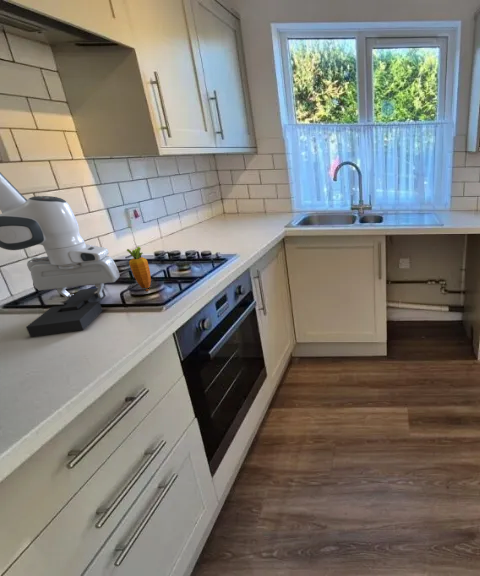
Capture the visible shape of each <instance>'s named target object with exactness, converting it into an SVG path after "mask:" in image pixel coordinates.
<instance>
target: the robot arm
mask: <svg viewBox="0 0 480 576" xmlns="http://www.w3.org/2000/svg"><path fill="white" fill-rule="evenodd" d="M0 212H1V213H0V248H1V249H3V250H7V251H21V250H26V249H29V248H31V247H34V246H42V247H43V249H44V251H45V254H46V256H41V257H32V258H30V259H28V261H27V262H26V266H27V269H28V270H29V272H30V277H31V280H32V284H33V286H34V288H35V289H36V290H38V291H46V290H56V291H57V293H58V294H60V295H61V296H63V298H64V299H65V302H66V301H67V300H68V299H69V298H71V297H72V296H73V295H74V294H75V293H70V292H69V291H67V290H66V289H68V288H75V287H84V286H93V285H94V286H95V287H94V288H98V290H97V291H96V292H95V293H94V295H95V298H102V297H103V293H102V289H103V290H104V286H105V284H111V283H115V282H117V281H118V280H119V278H120V277H121V276H120V274H121V273H120V271H119V269H118V266H117V264H116V262H115V261H114V259H113V258H112V257H111V256H109V253H110V252H109V249H108V248H107V247H104V246H97V245H93V244H92V245H91V244H88V243H87V244H86V241H85V239H84V238H83V237H82V235H81V233H80V225H79V222H78V220H77V218H76V215H75V214H74V211H73V209H72V207H71V205H70V204H69V203H68V202H67V200H65V199H64V198H61V197H57V196H51V195H50V196H49V195H36V196H31V197H29V198H26V197H25V196H24V195H23V194H22V193H21V192H20V191H19V190H18V189H17V188H16V187H15V186H14V185H13V184H12V183H11V181H10V180H9V179H8V178H7V177H5V176H4V175H3V174H2V172H0Z"/></svg>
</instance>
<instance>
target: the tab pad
mask: <svg viewBox="0 0 480 576" xmlns="http://www.w3.org/2000/svg"><path fill="white" fill-rule="evenodd" d="M97 290H98V287H97V288H96V287H93V288H85V289H79V290H78V291H77V292H76V293H73V294H74V295H73V296H72V297H71V298H69V299H68V300H67V301H66V300H65V301H64V302H63V305H62V306H63V307H62V308H61V310H62V312H64V311H72V310H79V309H80V308H82V307H83V306H84V305H85V304H86V303H91V302H100V303H101V301H102V300H103V299H104V298H106V293H105V289H104V288H103V289H102V293H103V297H102V298H95V295H94V293H95V292H96V291H97Z"/></svg>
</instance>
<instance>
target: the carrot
mask: <svg viewBox="0 0 480 576" xmlns="http://www.w3.org/2000/svg"><path fill="white" fill-rule="evenodd" d="M141 249H142V247H140V246H137V247H136V248H135V249H132V251H131V250H130V249H129V248H127V249H126V251H127V252H128V254H130V256H131V257H133V258H132V259H130V260H129V261H128V265H129V268H130V271H131V273H132V275H133V277H134V279H135V281H136V282H137V284H138V285H139V286H140V288H141V289H143V288H149V287H150V288H151V283H152V277H151V269H150V265H149V262H148V260H147V258H145V257H143V256H142V255H143V252H141ZM150 288H149V289H146V290H144V291H145V292H149V291H150Z"/></svg>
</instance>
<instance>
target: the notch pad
mask: <svg viewBox="0 0 480 576" xmlns="http://www.w3.org/2000/svg"><path fill="white" fill-rule="evenodd" d="M63 306H64V305H58V306H57V305H56V306H51V307H50V308H49V309H47V310H46V311H45V312H43V313H42V314H41V315H39V316H38V317H37V318H36V319H34V320H33V321H32V322H31V323H29V324H28V325H26V327H25V329H26V330H27V332H28V334H29V336H30V338H34V337H42V336H48V335H57V334H65V333H72V332H80V331H85V329H86V328H87V327H88V326H90V324H92V322H93V321H94V320H95V319H96V318H97V317H98V316H99V315H100V314H101V313H102V312H103V311H104V310H103V308H102V305H101V301H100V302H91V303H86V304H85V305H84V306H83V307H82V308H80V309H79V310H72V311H64V312H62V310H61V308H62V307H63Z"/></svg>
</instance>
